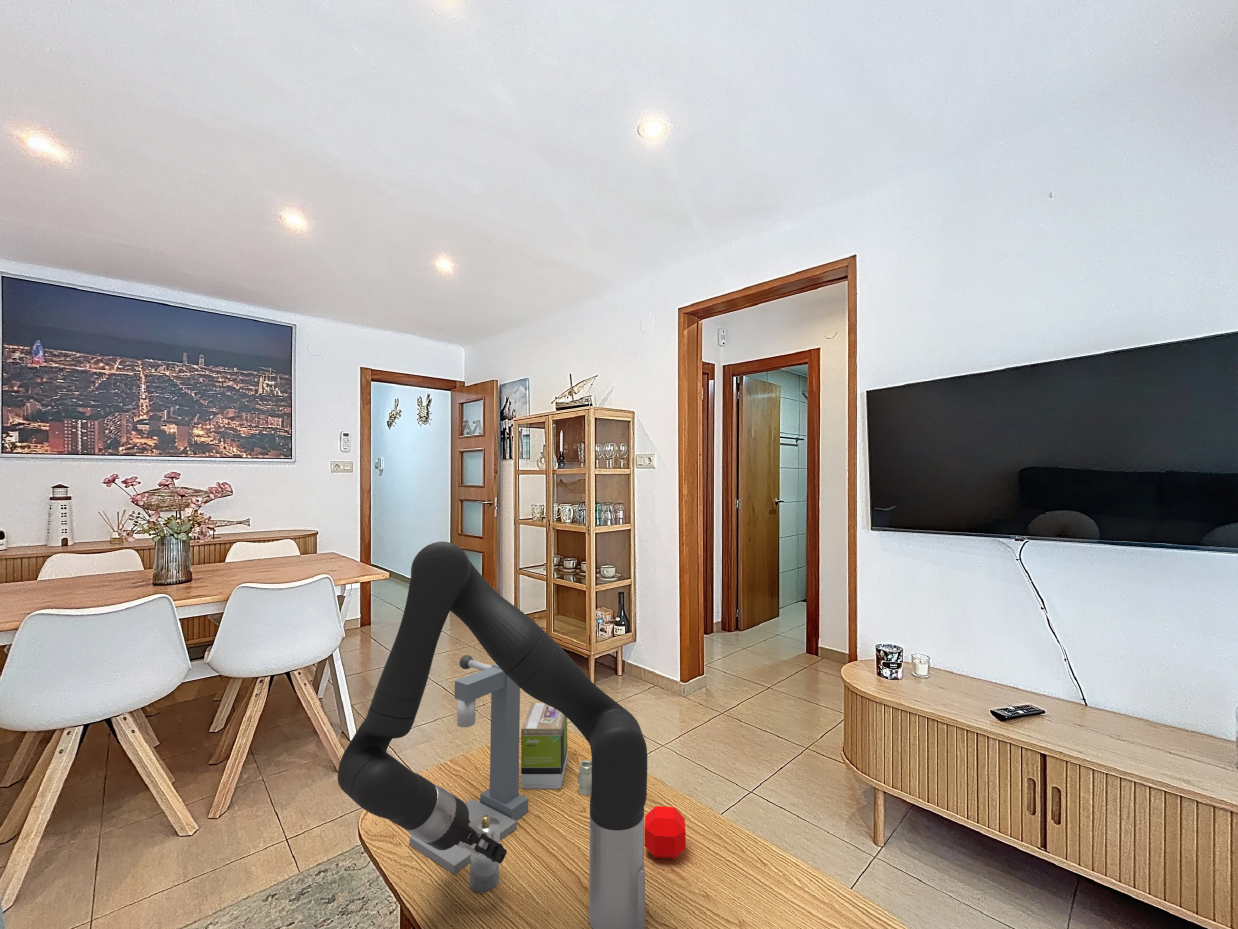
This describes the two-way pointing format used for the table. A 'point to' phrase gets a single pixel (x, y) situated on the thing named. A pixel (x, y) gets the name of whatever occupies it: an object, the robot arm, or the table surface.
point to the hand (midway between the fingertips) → (486, 847)
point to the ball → (665, 832)
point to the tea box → (543, 748)
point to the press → (503, 756)
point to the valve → (585, 777)
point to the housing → (482, 868)
